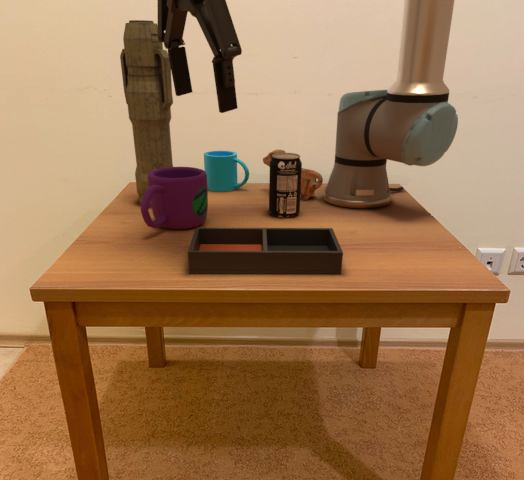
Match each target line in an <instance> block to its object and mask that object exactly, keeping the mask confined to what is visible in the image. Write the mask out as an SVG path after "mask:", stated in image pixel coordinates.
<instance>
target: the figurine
mask: <svg viewBox="0 0 524 480" xmlns="http://www.w3.org/2000/svg"><path fill="white" fill-rule="evenodd" d="M276 153H287V152H286V151H285V150H284V149H274V150H272V151H270V152H268V154H267V155H266V156H264V157H263V158H262V162H263V164H264V165H266V166H268V167H269V168H270V161H271V160H272V155H273V154H276ZM323 181H324V179H323V176H322V174H321V173H320V172H318V171H316V170H313V169H310V168H304V167H302V172H301V193H300V200H302V201H306V200H309V199H310V198H313V197H314V195H315V192H316V190H318V189H320V187H321V186H322V185H323Z"/></svg>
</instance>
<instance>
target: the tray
mask: <svg viewBox="0 0 524 480" xmlns="http://www.w3.org/2000/svg"><path fill="white" fill-rule="evenodd" d="M343 255H344V252H343V250H342V247H341V245H340V243H339V240H338V238H337V236H336V232H335V231H334V228H333V227H208V226H207V227H202V226H201V227H200V226H197V227H195V228H194V231H193V235H192V238H191V240H190V243H189V248H188V251H187V259H188V260H187V261H188V273H189V274H229V275H230V274H232V275H233V274H235V275H237V274H241V275H242V274H243V275H246V274H247V275H249V274H250V275H251V274H253V275H254V274H255V275H256V274H259V275H260V274H264V275H265V274H268V275H274V274H275V275H341V274H342V267H343Z"/></svg>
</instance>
